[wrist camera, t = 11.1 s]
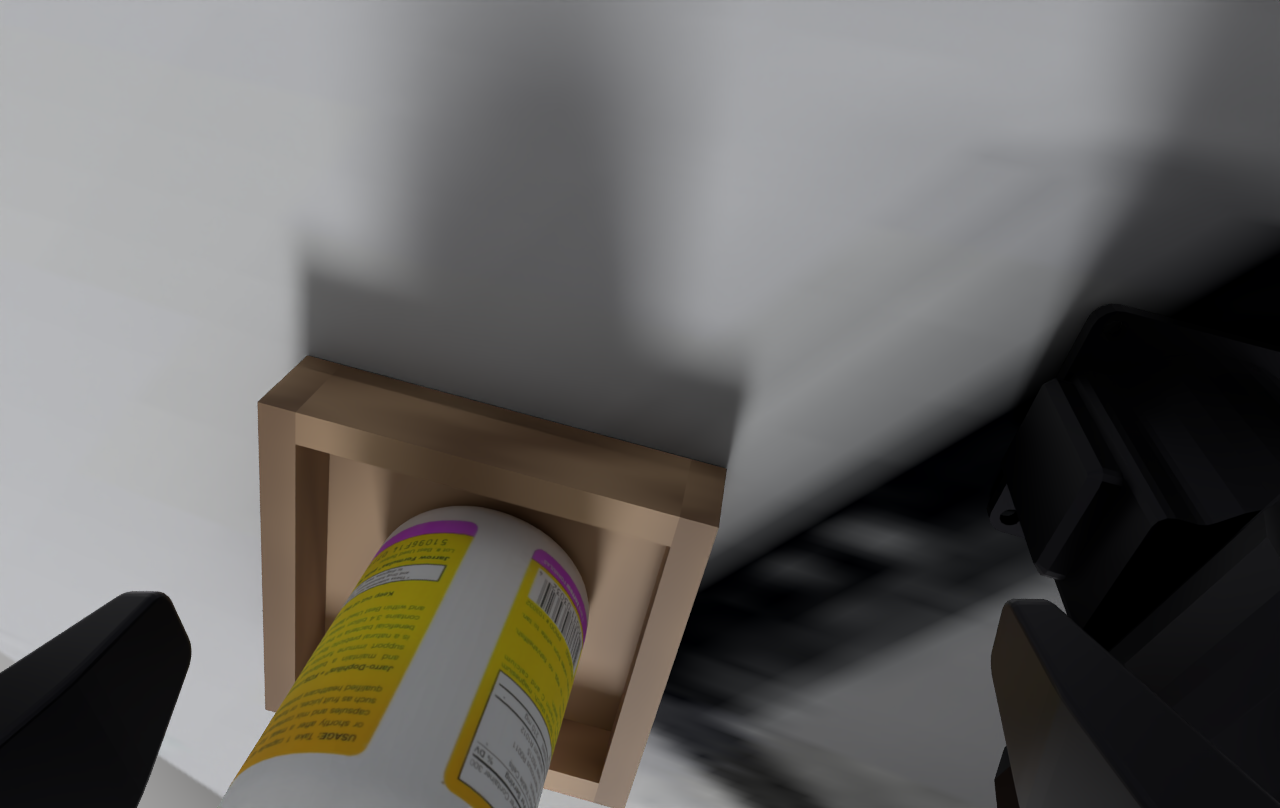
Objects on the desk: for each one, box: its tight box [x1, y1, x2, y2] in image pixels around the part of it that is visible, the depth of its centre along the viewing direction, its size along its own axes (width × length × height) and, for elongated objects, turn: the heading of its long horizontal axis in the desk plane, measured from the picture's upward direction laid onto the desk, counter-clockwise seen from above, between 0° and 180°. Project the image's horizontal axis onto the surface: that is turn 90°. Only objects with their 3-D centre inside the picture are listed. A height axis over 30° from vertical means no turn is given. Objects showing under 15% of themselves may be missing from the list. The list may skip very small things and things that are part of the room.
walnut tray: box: [258, 355, 727, 808], centre depth 26 cm, size 12×12×3 cm
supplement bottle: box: [217, 506, 589, 808], centre depth 21 cm, size 7×7×13 cm
